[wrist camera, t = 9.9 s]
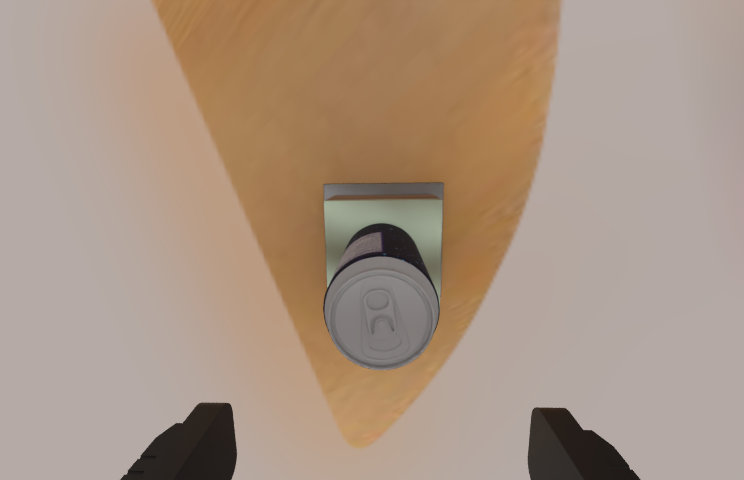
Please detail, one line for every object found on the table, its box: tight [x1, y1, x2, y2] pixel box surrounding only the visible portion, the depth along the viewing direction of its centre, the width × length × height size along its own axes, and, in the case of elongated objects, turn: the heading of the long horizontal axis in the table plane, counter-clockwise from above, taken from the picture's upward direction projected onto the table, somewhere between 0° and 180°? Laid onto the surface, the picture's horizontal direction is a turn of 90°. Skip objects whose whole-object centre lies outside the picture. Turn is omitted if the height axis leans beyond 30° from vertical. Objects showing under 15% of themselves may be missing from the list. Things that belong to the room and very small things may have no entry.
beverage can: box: [323, 223, 440, 370], centre depth 22 cm, size 6×6×12 cm
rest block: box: [324, 183, 444, 306], centre depth 31 cm, size 11×11×7 cm
